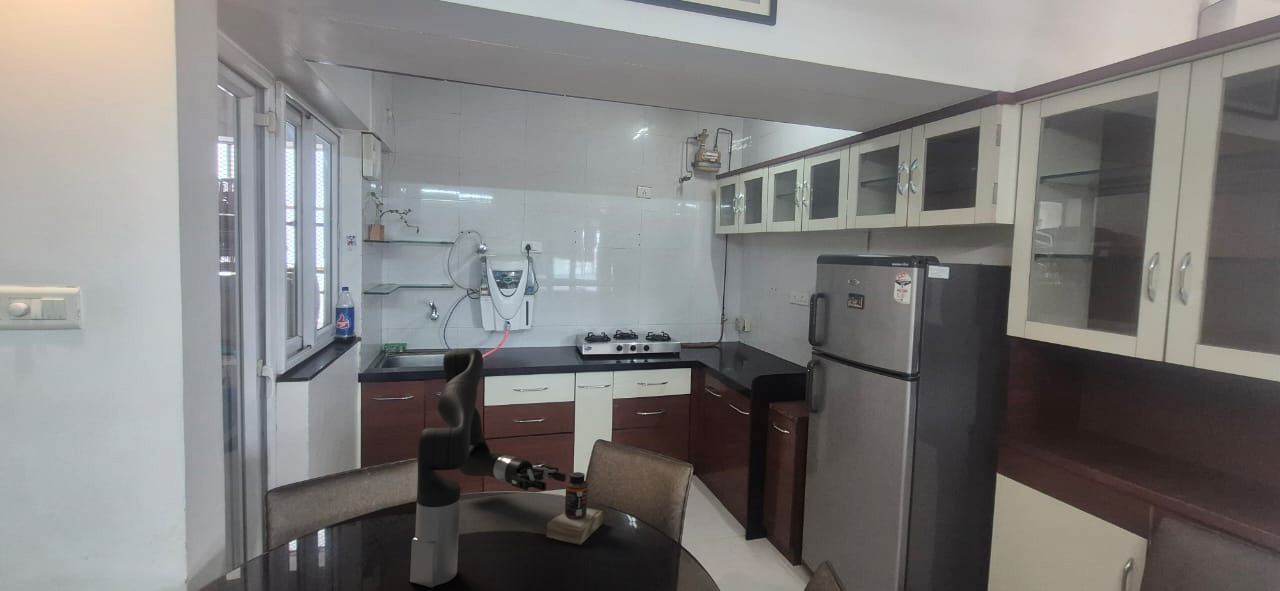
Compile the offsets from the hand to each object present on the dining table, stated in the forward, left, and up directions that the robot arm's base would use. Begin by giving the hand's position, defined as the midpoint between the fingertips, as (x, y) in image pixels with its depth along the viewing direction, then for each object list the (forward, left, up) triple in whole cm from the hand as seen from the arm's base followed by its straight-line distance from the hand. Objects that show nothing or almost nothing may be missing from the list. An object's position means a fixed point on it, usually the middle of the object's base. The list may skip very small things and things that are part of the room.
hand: (555, 482), depth 149 cm
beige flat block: (-1, -8, -11) cm, 14 cm away
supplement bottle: (-1, -7, -8) cm, 11 cm away
